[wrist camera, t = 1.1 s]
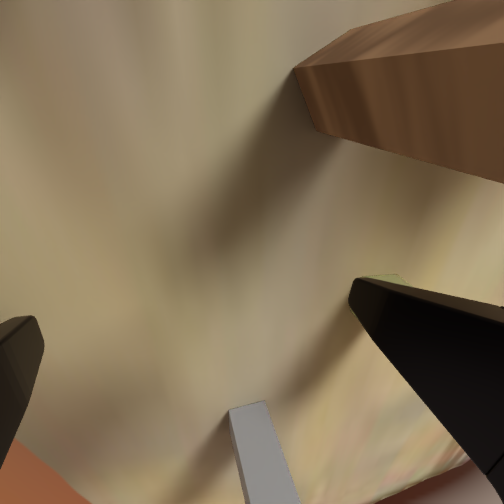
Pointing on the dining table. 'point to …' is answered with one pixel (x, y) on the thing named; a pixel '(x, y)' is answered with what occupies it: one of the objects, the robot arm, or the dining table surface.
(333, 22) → the dining table surface
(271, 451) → the grey pillar
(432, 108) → the walnut pillar
